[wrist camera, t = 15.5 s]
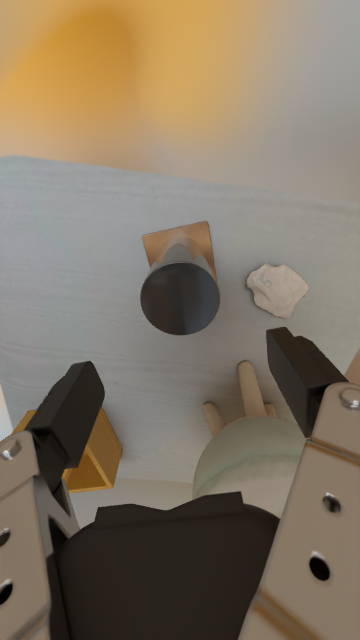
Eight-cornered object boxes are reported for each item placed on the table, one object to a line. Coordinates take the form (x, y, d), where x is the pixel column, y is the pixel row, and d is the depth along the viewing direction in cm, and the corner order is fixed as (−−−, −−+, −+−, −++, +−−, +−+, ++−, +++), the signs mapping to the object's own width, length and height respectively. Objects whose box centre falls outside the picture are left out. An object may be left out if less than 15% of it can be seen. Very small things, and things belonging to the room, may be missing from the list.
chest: (122, 449, 45) (113, 488, 39) (59, 457, 46) (41, 496, 40) (98, 399, 39) (83, 436, 33) (27, 410, 41) (0, 448, 34)
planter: (178, 418, 41) (174, 627, 21) (205, 340, 34) (237, 543, 14) (267, 434, 43) (341, 643, 23) (310, 363, 36) (474, 574, 16)
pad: (142, 235, 28) (141, 236, 27) (207, 220, 27) (207, 221, 26) (158, 295, 31) (158, 297, 30) (216, 283, 30) (217, 285, 29)
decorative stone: (233, 282, 30) (237, 290, 27) (267, 246, 28) (276, 251, 25) (278, 321, 32) (287, 332, 30) (313, 290, 30) (326, 299, 28)
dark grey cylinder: (150, 242, 27) (130, 271, 17) (201, 231, 27) (213, 253, 16) (162, 290, 30) (151, 341, 19) (209, 280, 29) (224, 328, 18)
